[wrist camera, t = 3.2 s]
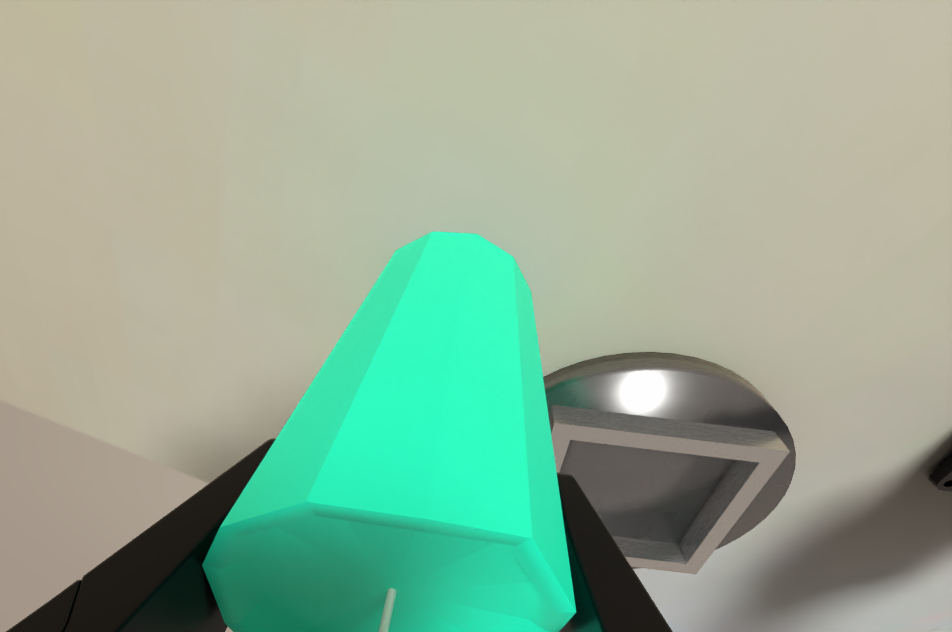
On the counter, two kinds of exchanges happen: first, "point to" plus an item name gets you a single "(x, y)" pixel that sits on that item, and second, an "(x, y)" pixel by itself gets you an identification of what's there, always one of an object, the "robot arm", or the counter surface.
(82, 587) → the robot arm
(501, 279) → the candle
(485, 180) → the counter surface
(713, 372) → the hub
